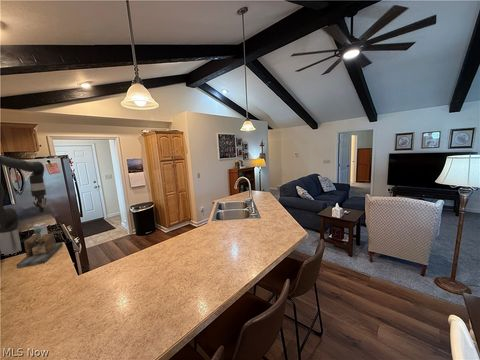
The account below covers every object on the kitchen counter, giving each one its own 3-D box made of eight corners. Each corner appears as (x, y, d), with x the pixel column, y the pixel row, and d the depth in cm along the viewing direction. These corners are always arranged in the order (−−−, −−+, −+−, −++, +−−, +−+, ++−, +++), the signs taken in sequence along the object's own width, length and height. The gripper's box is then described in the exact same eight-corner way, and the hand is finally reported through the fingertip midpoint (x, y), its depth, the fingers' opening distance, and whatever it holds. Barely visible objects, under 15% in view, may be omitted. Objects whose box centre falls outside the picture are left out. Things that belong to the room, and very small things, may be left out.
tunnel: (17, 268, 129) (13, 247, 127) (40, 248, 155) (37, 231, 153) (44, 263, 135) (41, 243, 132) (63, 245, 160) (60, 228, 158)
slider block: (33, 254, 140) (28, 231, 138) (37, 251, 146) (33, 228, 143) (45, 252, 143) (41, 229, 140) (50, 249, 148) (46, 226, 146)
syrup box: (49, 238, 174) (46, 222, 171) (41, 241, 168) (38, 225, 166) (43, 238, 174) (40, 222, 172) (35, 241, 168) (32, 225, 166)
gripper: (36, 188, 151) (40, 210, 153) (25, 191, 139) (30, 215, 141) (49, 187, 154) (52, 209, 156) (39, 190, 142) (44, 213, 144)
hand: (42, 212), depth 149 cm, fingers closed
